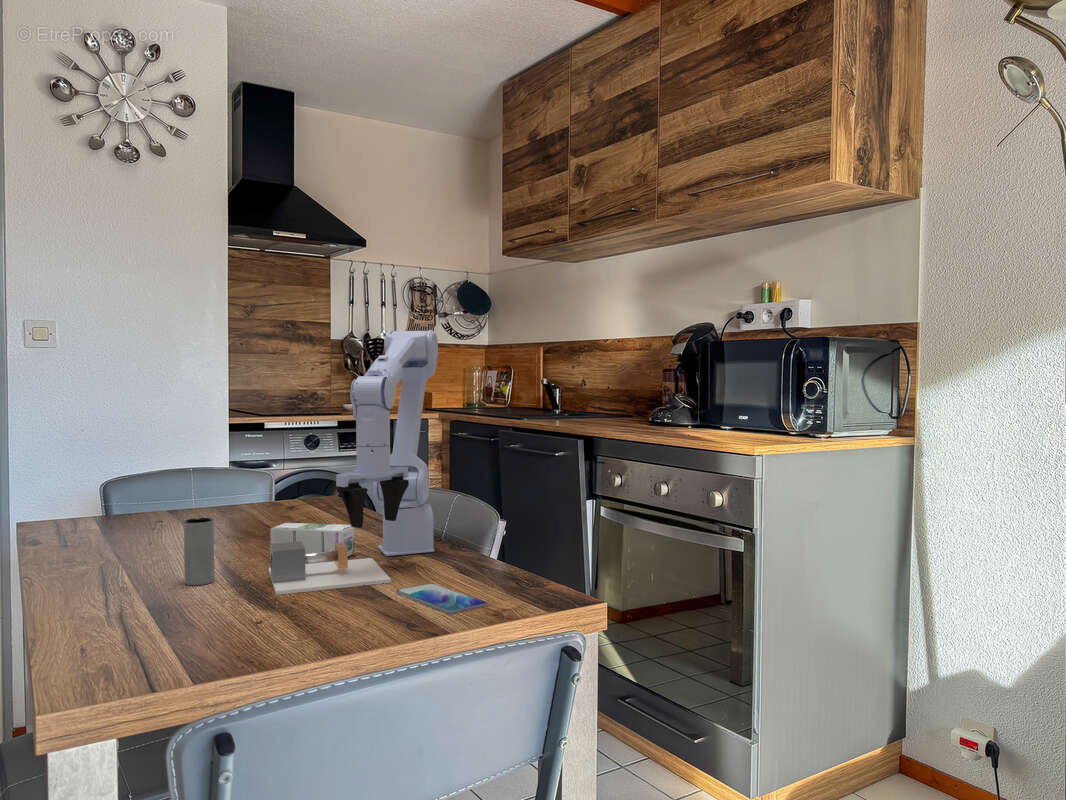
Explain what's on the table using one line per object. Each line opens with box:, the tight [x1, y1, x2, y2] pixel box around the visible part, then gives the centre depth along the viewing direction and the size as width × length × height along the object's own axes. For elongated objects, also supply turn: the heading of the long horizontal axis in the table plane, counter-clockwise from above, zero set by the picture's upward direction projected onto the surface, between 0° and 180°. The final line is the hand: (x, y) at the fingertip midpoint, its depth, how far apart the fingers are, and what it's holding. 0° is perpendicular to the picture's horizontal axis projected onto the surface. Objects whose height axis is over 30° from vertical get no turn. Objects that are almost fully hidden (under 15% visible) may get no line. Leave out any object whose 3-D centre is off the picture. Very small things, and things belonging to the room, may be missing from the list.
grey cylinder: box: [183, 517, 215, 586], centre depth 128 cm, size 4×4×10 cm
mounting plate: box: [268, 557, 392, 596], centre depth 131 cm, size 18×16×1 cm
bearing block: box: [269, 541, 305, 583], centre depth 129 cm, size 5×6×5 cm
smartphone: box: [395, 583, 488, 615], centre depth 118 cm, size 7×1×15 cm
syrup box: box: [269, 522, 356, 557], centre depth 146 cm, size 6×6×14 cm
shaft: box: [305, 542, 349, 569], centre depth 130 cm, size 10×4×4 cm, turn 113°
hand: (374, 523), depth 134 cm, fingers open, 7 cm apart
